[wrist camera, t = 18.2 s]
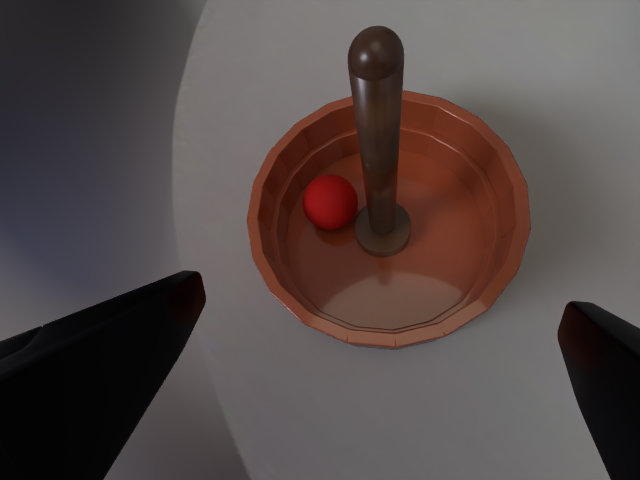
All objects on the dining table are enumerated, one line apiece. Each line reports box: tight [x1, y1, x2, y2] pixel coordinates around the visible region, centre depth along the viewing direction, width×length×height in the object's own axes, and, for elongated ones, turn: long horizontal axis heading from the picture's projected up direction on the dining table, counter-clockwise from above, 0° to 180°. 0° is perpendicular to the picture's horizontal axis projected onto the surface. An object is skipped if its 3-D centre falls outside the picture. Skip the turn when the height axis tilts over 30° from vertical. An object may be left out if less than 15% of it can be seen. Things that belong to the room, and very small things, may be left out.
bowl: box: [247, 90, 531, 350], centre depth 19 cm, size 13×13×5 cm
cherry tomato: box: [303, 174, 358, 230], centre depth 20 cm, size 3×3×3 cm
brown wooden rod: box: [348, 26, 411, 257], centre depth 14 cm, size 3×3×13 cm
